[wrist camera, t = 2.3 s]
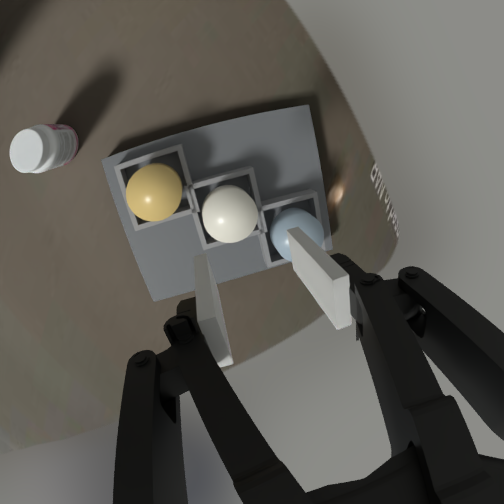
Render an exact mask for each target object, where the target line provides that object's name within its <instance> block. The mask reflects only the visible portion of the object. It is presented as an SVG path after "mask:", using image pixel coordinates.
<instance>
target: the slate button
mask: <svg viewBox="0 0 504 504" xmlns="http://www.w3.org/2000/svg"><path fill="white" fill-rule="evenodd" d="M295 227H299V228H300V229H301V230H302V231H303V232H304V233H306V234H307V235H308V236H309V237H310V238H311V239H312V240H313V241H314V242H315V243H316V244H317V245H318V246H319V247H321V246H322V244H323V240H324V230H323V227H322V225H321V223H320V222H319V221H318V220H317V219H316V218H315V217H314V216H312V215H311V214H309V213H308V212H307V211H305V210H303V209H300V208H289V209H286V210H284V211H282V212H280V213H279V214H278V215H277V216H276V217H275V219H274V220H273V222H272V224H271V227H270V239H271V241H272V243H273V245H274V246H275V248H276V249H277V251H278V252H279V253H280V255H281V256H282V257H283V258H284V259H286V260H288V261H291V262H292V258H291V252H290V247H289V242H288V236H287V231H286V230H288V229H291V228H295Z"/></svg>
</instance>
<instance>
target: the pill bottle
mask: <svg viewBox="0 0 504 504" xmlns="http://www.w3.org/2000/svg"><path fill="white" fill-rule="evenodd" d="M77 150H78V136H77V134H76V132H75V131H74V129H73V128H71V127H70V126H68V125H63V124H38V125H35V126H33V127H31V128H29V129H24V130H22V131H20V132H19V133H18V134H17V135H16V136H15V137H14V139H13V141H12V143H11V146H10V159H11V162H12V164H13V166H14V167H15V169H16V170H18V171H20V172H22V173H28V172H32V173H41V172H44V171H47V170H50V169H53V168H56V167H60V166H63V165H66V164H68V163H69V162H70V161H71V160H72V159H73V158H74V157H75V155H76V153H77Z"/></svg>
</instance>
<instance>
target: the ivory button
mask: <svg viewBox="0 0 504 504" xmlns="http://www.w3.org/2000/svg"><path fill="white" fill-rule="evenodd" d="M202 217H203V223H204V226H205V229H206V230H207V232H208V233H209V234H210V235H211V236H212V237H213V238H214V239H216V240H218V241H220V242H224V243H234V242H238V241H241V240H243V239H245V238H246V237H248V236H249V235H250V234H251V233H252V231H253V230H254V228H255V226H256V224H257V220H258V210H257V206H256V204H255V202H254V201H253V199H252V198H251V197H250V196H249V195H248V194H247V193H246V192H245V191H244V190H243V189H241V188H239V187H237V186H234V185H223V186H219V187H217V188H215V189H213V190H212V191H211V192H210V193H209V194H208V195H207V196H206V198H205V200H204V202H203V205H202Z"/></svg>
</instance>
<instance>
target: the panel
mask: <svg viewBox="0 0 504 504" xmlns="http://www.w3.org/2000/svg"><path fill="white" fill-rule="evenodd" d="M101 161H102V164H103V167H104V171H105V174H106V177H107V180H108V184H109V187H110V190H111V193H112V196H113V199H114V202H115V205H116V208H117V211H118V213H119V216H120V219H121V222H122V225H123V227H124V230H125V233H126V236H127V238H128V241H129V243H130V246H131V249H132V251H133V254H134V256H135V259H136V261H137V264H138V266H139V269H140V271H141V274H142V276H143V278H144V281H145V283H146V285H147V288H148V290H149V292H150V295H151V297H152V299H153V301H154V302H155V301H158V300H162V299H166V298H169V297H173V296H176V295H180V294H183V293H187V292H190V291H194V290H195V274H194V256H197V255H201V254H204V253H206V254H207V257H208V261H209V264H210V267H211V270H212V273H213V276H214V279H215V282H216V284H218V283H222V282H225V281H229V280H232V279H235V278H239V277H242V276H246V275H249V274H252V273H256V272H259V271H263V270H266V269H269V268H273V267H276V266H279V265H283V264H286V263H289V262H291V261H288V260H286V259H284V258H283V257H282V256H281V255H280V253H279V252H278V251H277V249H276V248H275V246H274V245H273V243H272V241H271V239H270V227H271V224H272V222H273V220H274V219H275V217H276V216H277V215H278V214H279V213H280V212H282V211H284V210H286V209H289V208H300V209H303V210H305V211H307V212H308V213H309V214H311V215H312V216H314V217H315V218H316V219H317V220H318V221H319V222H320V223H321V225H322V227H323V230H324V240H323V244H322V246H321V248H322V249H323V250H324V251H328V250H332V249H333V248H332V240H331V232H330V224H329V217H328V210H327V203H326V196H325V190H324V183H323V177H322V171H321V165H320V160H319V154H318V149H317V143H316V138H315V133H314V128H313V123H312V118H311V113H310V108H309V105H303V106H297V107H290V108H285V109H279V110H274V111H268V112H263V113H258V114H253V115H249V116H244V117H239V118H235V119H231V120H227V121H222V122H218V123H214V124H210V125H207V126H203V127H199V128H195V129H192V130H188V131H185V132H181V133H178V134H174V135H171V136H168V137H165V138H161V139H158V140H155V141H152V142H149V143H146V144H143V145H140V146H137V147H134V148H131V149H129V150H126V151H123V152H120V153H118V154H115V155H112V156H110V157H107V158H105V159H102V160H101ZM151 163H163V164H166V165H168V166H170V167H172V168H173V169H174V170H175V171H176V172H177V173H178V175H179V176H180V179H181V182H182V196H181V201H180V204H179V206H178V208H177V209H176V211H175V212H174V213H173V214H172V215H171V216H169V217H168V218H166V219H164V220H161V221H146V220H143V219H141V218H139V217H138V216H136V215H135V214H134V213H133V212H132V211H131V209H130V207H129V206H128V203H127V200H126V188H127V184H128V182H129V180H130V178H131V177H132V176H133V174H134V173H135V172H137V171H138V170H139V169H141V168H142V167H144V166H146V165H148V164H151ZM223 185H234V186H237V187H239V188H241V189H243V190H244V191H245V192H246V193H247V194H248V195H249V196H250V197H251V198H252V199H253V201H254V202H255V204H256V206H257V210H258V220H257V224H256V226H255V228H254V230H253V231H252V233H251V234H250V235H249V236H248V237H246V238H245V239H243V240H241V241H238V242H234V243H224V242H220V241H218V240H216V239H214V238H213V237H212V236H211V235H210V234H209V233H208V232H207V230H206V229H205V226H204V223H203V217H202V205H203V202H204V200H205V198H206V196H207V195H208V194H209V193H210V192H211V191H212V190H213V189H215V188H217V187H219V186H223Z"/></svg>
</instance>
